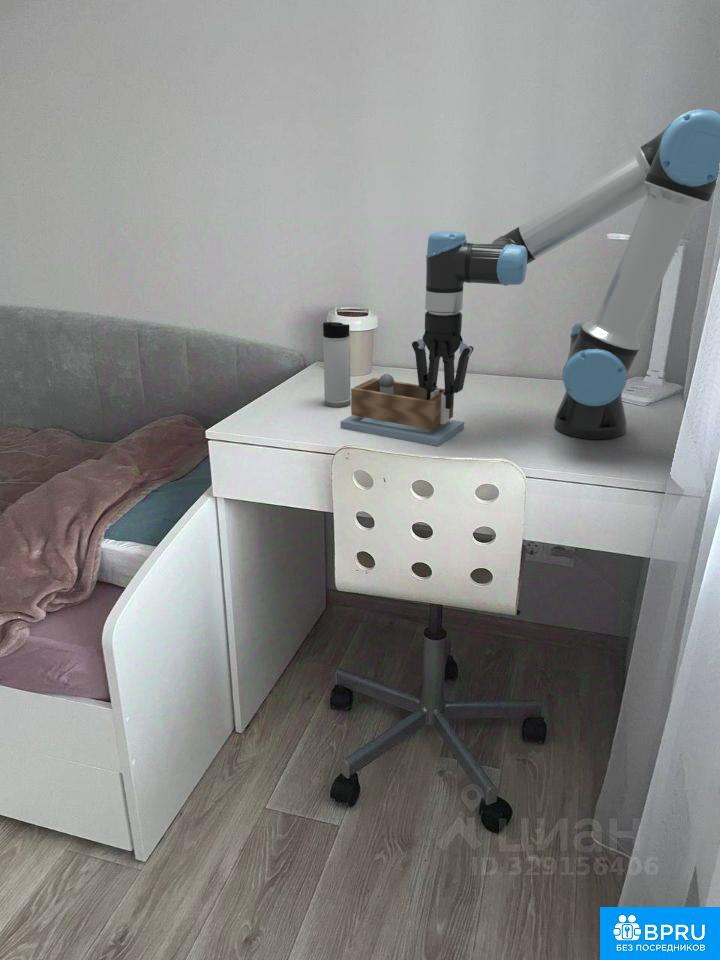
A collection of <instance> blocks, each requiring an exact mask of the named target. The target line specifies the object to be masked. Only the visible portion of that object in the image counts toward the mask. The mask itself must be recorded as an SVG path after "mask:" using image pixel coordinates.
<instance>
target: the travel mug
mask: <svg viewBox="0 0 720 960" xmlns="http://www.w3.org/2000/svg"><path fill="white" fill-rule="evenodd" d="M322 327H323V328H322V331H323V333H322V334H323V335H322V338H323V339H322V341H323V342H322V343H323V344H322V346H323V347H322V348H323V376H324V377H323V380H324V382H323V383H324V404H325V405H326V406H328V407H330V408H345V407H348V406H349V405H351V339H350V337H351V336H350V335H351V334H350V324H349V323H347V324H343V323H342V322H336V321H333V322H332V321H327V322H323V324H322Z"/></svg>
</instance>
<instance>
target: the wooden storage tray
mask: <svg viewBox="0 0 720 960" xmlns="http://www.w3.org/2000/svg"><path fill="white" fill-rule="evenodd" d="M379 379H380V378H377V377H373V378H371V379H367V380H366V381H365V382H362V383H360V384H358V385H356V386H353V387H352V388H350V392H351V396H350V398H351V403H350V405H351V406H350V407H351V410H350V411H351V413H350V414H351V415H350V416H352V415H354V416H360V417H365V418H370V419H376V420H381V421H386V422H392V423H397V424H402V425H407V426H413V427H418V428H423V429H429V430H434V429H436V428H437V427H439V426H440V425H442V424H440V420H441V394H443V393H444V392H445V388H439V387H437V388H436V389H435V390H439V394H438V395H436V396H435V397H433V398H431V399H429V400H427V390H426V389H424V388H423V387H422V388H421V387H419V384H415V383H409V382H403V381H398V380H396V381H395V380H394V385H393V394H388V393H382V392H380V385H379ZM454 401H455V400H454ZM454 401H453V407H452V408H451V409H449V419H450V420H452V418H453V417H454Z"/></svg>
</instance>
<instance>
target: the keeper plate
mask: <svg viewBox="0 0 720 960" xmlns="http://www.w3.org/2000/svg"><path fill="white" fill-rule="evenodd" d="M378 379H379V385H380V392H382V393H388V394H393V385H394V381H395V379H394V377H393V376H392V374H389V373H388V374H387V373H384V374H382V375H381V376H380V377H379V378H378ZM340 428H341V429H344V430H345V429H346V430H351V431H356V432H361V433H367V434H371V435H377V436H380V437H381V436H382V437H387V438H392V439H398V440H403V441H408V442H413V443H418V444H423V445H424V444H425V445H430V446H433V447H440V446H441V445H443V444H444V443H446V442H447V441H449V440H450V439H452V438H453V437H454V436H455V435H457V434H458V433H459V432H461V431H463V430H464V429H465V422H464V421H461V420H456V419H455V420H453V419H449V421H448V422H446V423H445V424H442V425H440V426H439V427H437V428H436V429H434V430H429V429H423V428H418V427H413V426H407V425H402V424H397V423H392V422H386V421H381V420H376V419H370V418H365V417H360V416H354V415H350V416H347V417H346V418H344V419H342V420H341V421H340Z"/></svg>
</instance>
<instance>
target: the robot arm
mask: <svg viewBox="0 0 720 960" xmlns="http://www.w3.org/2000/svg"><path fill="white" fill-rule="evenodd" d="M719 163H720V112H716V111H714V110H713V109H712V110H709V109H705V108H698V109H692V110H690V111H686V112H684V113H682V114H681V115H679V116H678V117H676V118H675V119H674V120H673V121H672V122H671V123H670V124H669V125H668V126H667V127H665V129H664V130H662V131H661V132H660V133H659V134H657V135H656V136H655V137H653V138H652V139H651V140H649V141H648V142H646V143H645V144H643V145H641V146H639V147H638V150H637V152H636V154H635V156H634V157H631V158H630V159H628V160H627V161H625V162H623V163H622V164H620V165H618V166H616V167H615V168H613V169H612V170H610V171H609V172H607V173H605V174H604V175H602V176H600V177H598V178H597V179H595V180H593V181H592V182H590V183H589V184H587V185H585V186H584V187H582V188H580V189H578V190H577V191H575V192H573V193H572V194H571V195H569V196H567V197H565V198H564V199H562V200H560V201H559V202H557V203H555V204H554V205H552V206H550V207H549V208H547V209H545V210H543V211H542V212H540V213H539V214H537V215H535V216H533V217H532V218H530V219H529V220H527V221H525V222H524V223H522V224H521V225H519V226H518V227H516V228H514V229H512V230H511V231H509V232H507V233H506V234H503V235H501V236H499V237H498V238H496V239H494V240H493V241H492V242H491V243H472V242H468V241H467V237H466V236H467V235H466V233H465V232H461V231H455V230H440V231H435V232H434V231H433V232H431V233H429V235H428V237H427V247H426V248H427V249H426V255H425V258H426V265H425V266H426V271H425V272H426V274H425V275H426V277H425V278H426V279H425V280H426V282H425V283H426V284H425V302H424V303H425V304H424V309H425V310H426V312H425V313H424V333H423V335H422V338H419V339H416V340H414V341H412V343H411V346H412V348H413V351H414V354H415V363H416V372H417V381H418V382H417V383H418V385H419V387H421V388H422V387H423V388H424V389H426V390H427V400H429V399H431V398H433V397H435V396H436V395H438V394H439V390H435V389H436V388H439V387H438V384H437V383H438V382H437V381H438V375H439V367H440V360H441V358H442V363H443V376H444V377H443V378H444V379H443V380H444V389H445V392H444V393H443V394H441V420H440V424H445V423H446V422H448V421H449V409H451V408H452V407H453V408H454V405H453V401H455V399H454V398H455V394H458V393H459V392H461V391H462V390H463V389H464V385H465V384H464V383H465V379H466V374H467V370H468V363H469V361H470V356H471V355H472V353H473V352H474V346H471V345H469V346H468V344H466V343H464V340H463V337H462V325H463V324H462V322H463V314H462V312H461V311H462V309H463V300H464V284H465V283H467V284H488V285H502V286H505V287H506V286H510V285H511V286H512V285H513V286H515V285H516V286H518V285H521V284H523V283H524V282H525V278H526V274H527V267H528V265H529V264H530V263H532V262H534V261H535V260H536V259H538V258H540V257H542V256H544V255H545V254H547V253H548V252H551V251H552V250H554V249H556V248H557V247H559V246H561V245H563V244H564V243H565V244H566V242H569V241H570V240H571V239H574V238H575V237H577V236H579V235H580V234H583V233H584V232H585V231H587V230H590V229H592V228H593V227H594V226H596V225H598V224H600V223H602V222H603V221H605V220H606V219H608V218H610V217H612V216H613V215H616V214H617V213H619V212H621V211H623V210H625V209H626V208H627V207H629V206H631V205H633V204H635V203H637V202H639V201H641V200H642V199H643V198H645V197H646V199H645V201H644V202H643V205H642V208H641V210H640V212H639V214H638V216H637V219H636V221H635V223H634V225H633V229H632V230H631V233H630V235H629V237H628V240H627V241H626V244H625V247H624V249H623V251H622V254H621V256H620V258H619V260H618V262H617V265H616V267H615V270H614V272H613V273H612V276H611V279H610V281H609V283H608V286H607V288H606V290H605V292H604V295H603V297H602V299H601V301H600V304H599V306H598V309H597V310H596V313H595V315H594V318H593V319H592V320H591V321H588V322H578V323H575V324H573V326H572V329H571V333H570V335H569V336H570V337H569V338H570V344H569V345H570V347H569V352H568V355H567V359H566V362H565V364H564V367H563V370H562V382H563V385H564V389H565V393H564V396H563V397H562V400H561V402H560V404H559V407H558V409H557V411H556V414H555V416H554V425H553V426H554V428H555V429H556V430H557V431H559V432H560V433H562V434H564V435H567V436H570V437H574V438H578V439H586V440H610V439H615V438H619V437H622V436H623V435H624V434H625V433H626V429H627V417H626V412H625V407H624V402H623V398H622V394H623V392H624V389H625V388H626V385H627V380H628V374H629V372H630V370H631V367H632V365H633V363H634V362H635V359H636V357H637V355H638V353H639V351H640V348H641V345H640V341H639V340H638V333H639V331H640V329H641V327H642V324H643V323H644V320H645V318H646V316H647V314H648V312H649V309H650V308H651V306H652V303H653V301H654V299H655V296H656V295H657V293H658V290H659V288H660V286H661V284H662V282H663V279H664V277H665V275H666V273H667V271H668V269H669V267H670V264H671V262H672V260H673V259H674V256H675V254H676V251H677V249H678V247H679V245H680V244H681V241H682V239H683V237H684V236H685V232H686V230H687V228H688V226H689V224H690V221H691V220H692V217H693V215H694V213H695V211H696V210H698V208H701V207H703V206H705V205H707V204H709V202H710V200H711V197H712V196H713V193H714V191H715V189H716V187H717V185H716V180H717V177H718V174H719V172H718V171H719ZM715 186H716V187H715ZM426 348H427V350H428V353H429V354H428V360H429V363H427V362H428V360H427V353H426V352H427V351H426ZM458 349H459V352H458V353H459V358H458V362H457V367H456V372H455V359H456V356H455V353H456V352H457V351H458Z"/></svg>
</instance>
